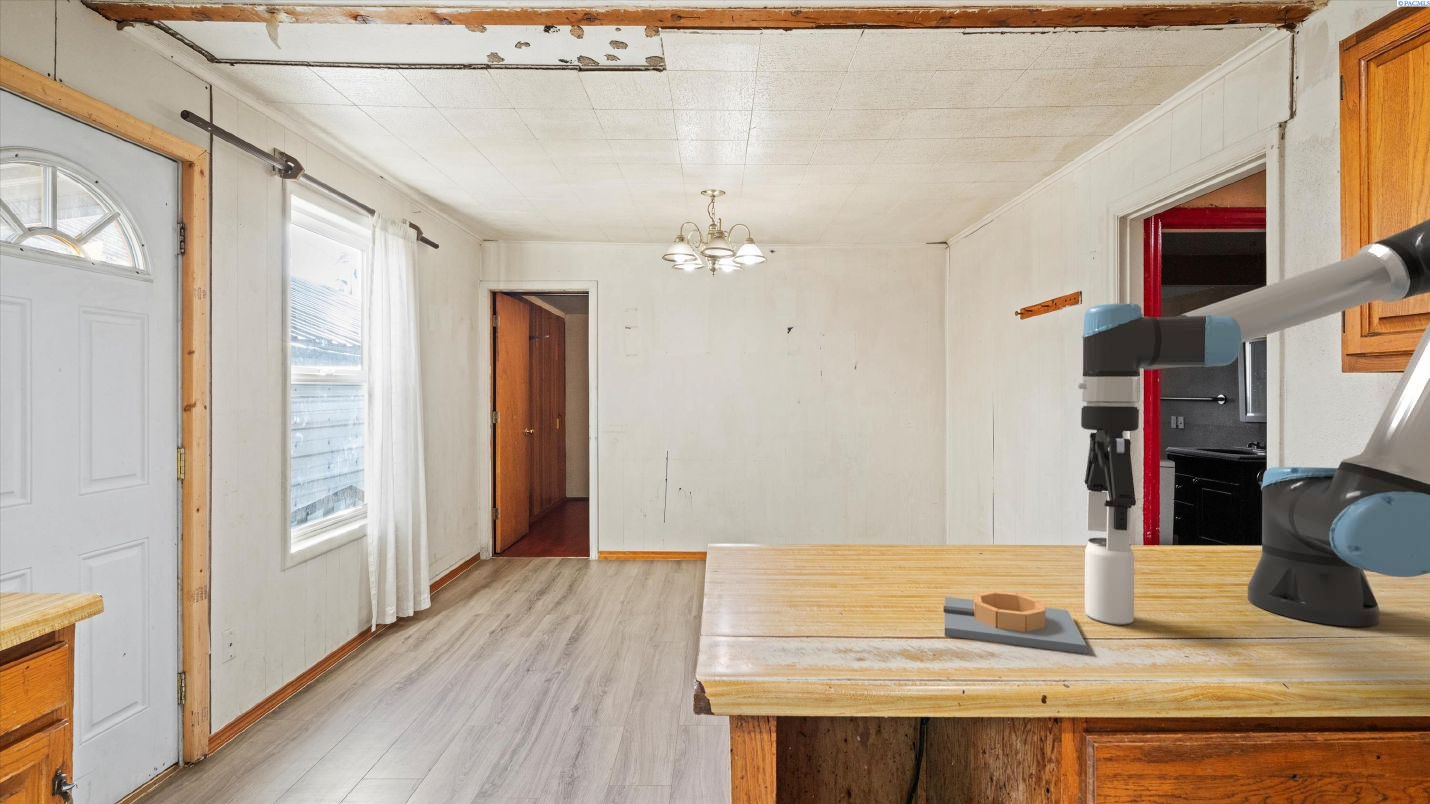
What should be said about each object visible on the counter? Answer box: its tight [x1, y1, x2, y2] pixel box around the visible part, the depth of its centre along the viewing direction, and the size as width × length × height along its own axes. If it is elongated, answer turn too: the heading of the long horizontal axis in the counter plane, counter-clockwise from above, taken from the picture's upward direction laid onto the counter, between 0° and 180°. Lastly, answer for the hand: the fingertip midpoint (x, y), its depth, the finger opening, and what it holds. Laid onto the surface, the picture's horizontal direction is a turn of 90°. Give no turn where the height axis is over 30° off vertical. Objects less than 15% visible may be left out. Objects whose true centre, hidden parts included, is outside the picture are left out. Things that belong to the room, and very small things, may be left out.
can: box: [1084, 537, 1135, 626], centre depth 95 cm, size 6×6×12 cm
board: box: [943, 590, 1087, 655], centre depth 92 cm, size 18×14×4 cm
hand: (1106, 540), depth 95 cm, fingers open, 13 cm apart
